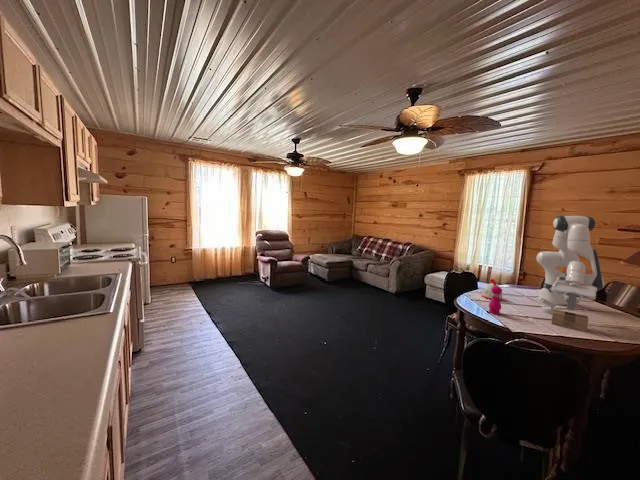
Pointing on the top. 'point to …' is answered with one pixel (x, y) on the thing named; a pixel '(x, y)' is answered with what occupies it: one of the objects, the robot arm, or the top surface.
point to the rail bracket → (572, 301)
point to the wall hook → (547, 309)
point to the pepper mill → (495, 300)
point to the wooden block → (570, 320)
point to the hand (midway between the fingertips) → (572, 301)
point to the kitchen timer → (489, 291)
